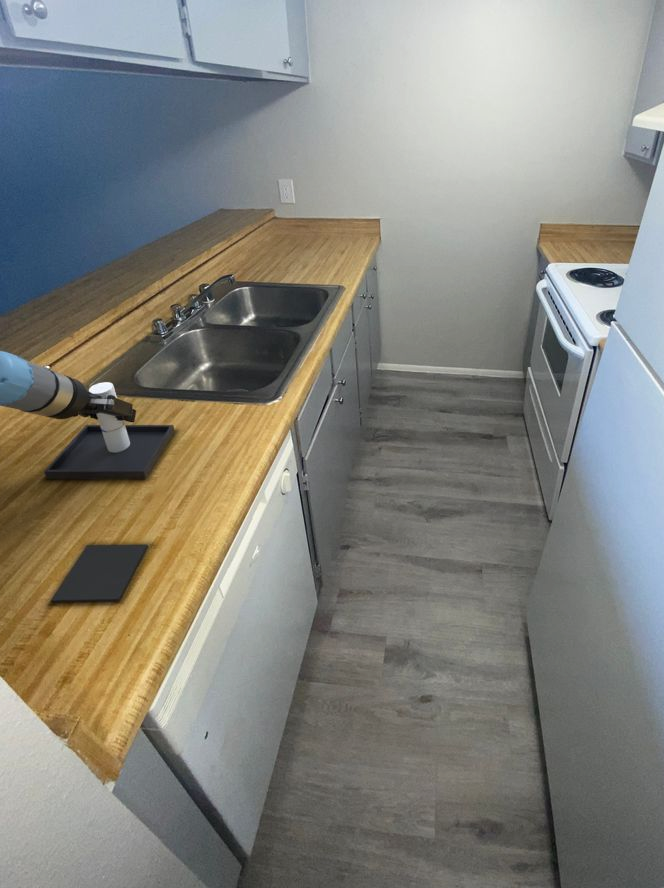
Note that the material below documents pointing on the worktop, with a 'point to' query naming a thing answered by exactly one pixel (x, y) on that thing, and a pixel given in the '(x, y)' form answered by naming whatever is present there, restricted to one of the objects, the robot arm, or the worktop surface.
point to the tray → (111, 454)
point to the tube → (111, 421)
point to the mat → (100, 574)
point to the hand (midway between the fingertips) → (121, 416)
